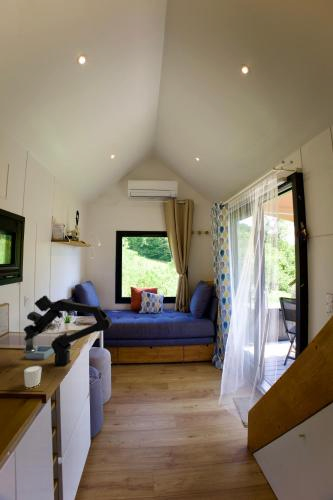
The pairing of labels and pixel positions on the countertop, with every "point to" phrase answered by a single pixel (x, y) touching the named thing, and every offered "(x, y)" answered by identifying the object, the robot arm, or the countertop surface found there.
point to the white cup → (32, 376)
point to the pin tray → (40, 353)
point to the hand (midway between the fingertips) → (27, 338)
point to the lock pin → (29, 346)
